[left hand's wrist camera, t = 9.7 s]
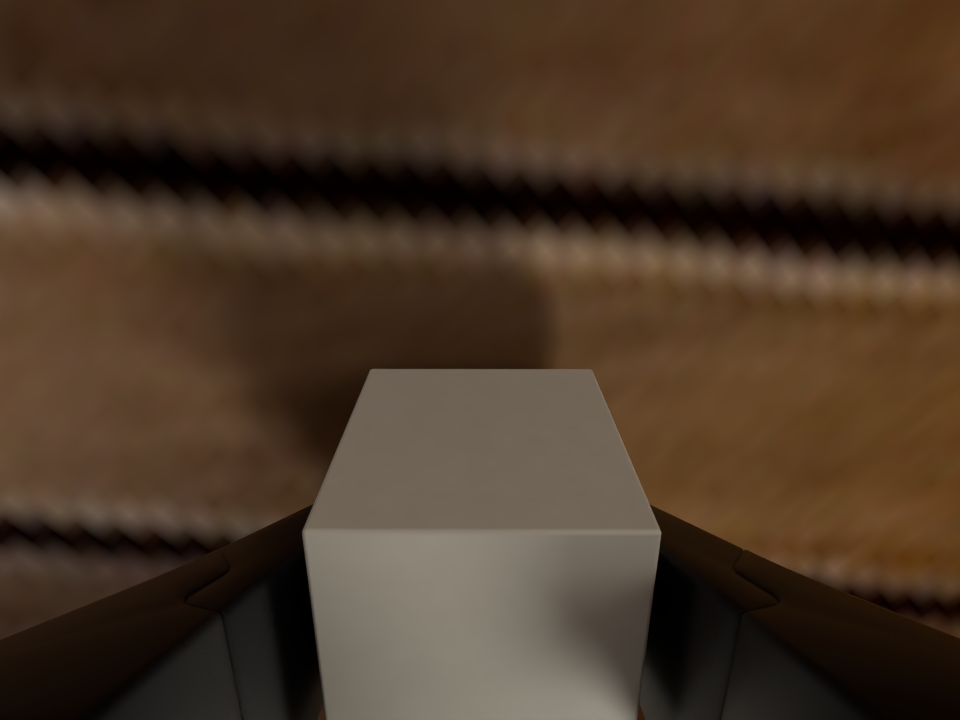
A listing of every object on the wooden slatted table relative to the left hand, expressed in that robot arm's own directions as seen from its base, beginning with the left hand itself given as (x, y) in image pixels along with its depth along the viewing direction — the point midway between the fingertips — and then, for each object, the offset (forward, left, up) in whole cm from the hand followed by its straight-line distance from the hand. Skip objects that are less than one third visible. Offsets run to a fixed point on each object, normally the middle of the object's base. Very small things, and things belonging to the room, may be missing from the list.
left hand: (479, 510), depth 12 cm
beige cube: (0, 0, -1) cm, 1 cm away
